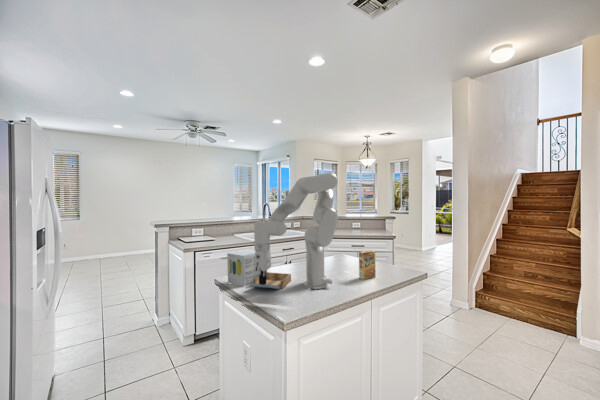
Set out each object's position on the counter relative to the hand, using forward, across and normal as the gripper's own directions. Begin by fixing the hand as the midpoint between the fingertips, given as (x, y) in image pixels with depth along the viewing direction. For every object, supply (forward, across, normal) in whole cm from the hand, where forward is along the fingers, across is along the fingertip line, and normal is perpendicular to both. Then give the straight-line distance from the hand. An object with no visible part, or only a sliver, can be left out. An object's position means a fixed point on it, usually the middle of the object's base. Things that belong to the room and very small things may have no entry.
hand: (262, 283), depth 136 cm
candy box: (+5, +40, -48) cm, 63 cm away
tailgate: (+4, +7, 0) cm, 8 cm away
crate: (+5, +13, 0) cm, 14 cm away
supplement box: (+5, +13, +17) cm, 22 cm away
